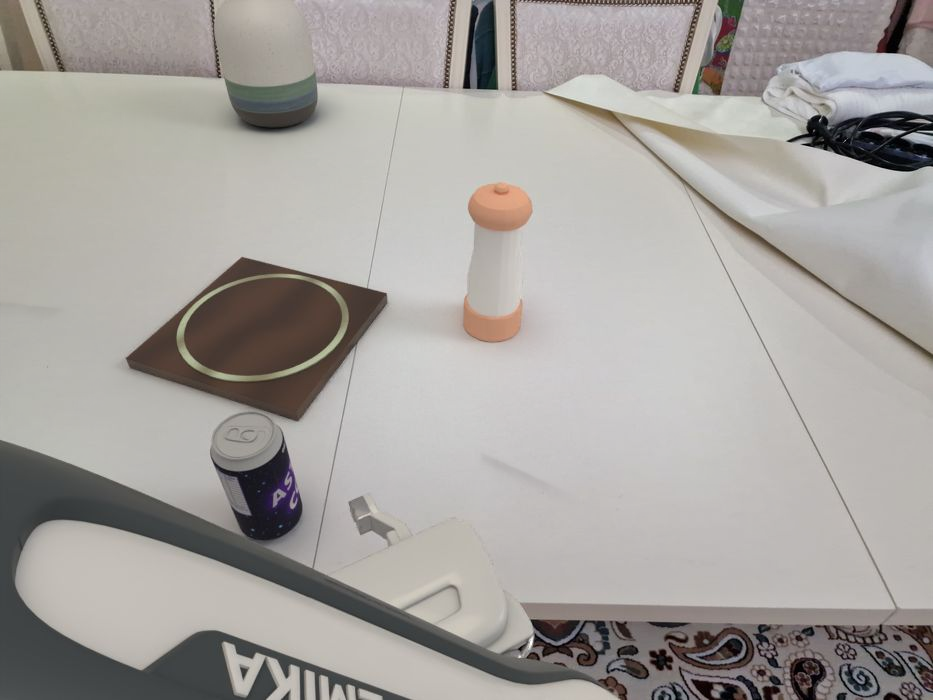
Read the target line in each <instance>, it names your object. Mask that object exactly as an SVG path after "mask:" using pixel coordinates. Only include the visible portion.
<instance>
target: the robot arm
mask: <svg viewBox="0 0 933 700" xmlns="http://www.w3.org/2000/svg"><path fill="white" fill-rule="evenodd" d="M348 507H349V512H350V516H351V518H352V520H353V523H355V525H356V529H357V531H358V533H359V535H360V536H362V535H365V534H367V533H369V532H374V534H376V535H378V536H380V537H381V538H383V539H384V540H385V541H386V543H387V547H385V548H383V549H380V550H378V551H376V552H374V553H371V554H369V555H367V556H365V557H362V558H361V559H359V560H356V561H354V562H352V563H350V564H347V565H345V566H344V567H341V568H339V569H337V570H335V571H333V572H330V573H328V574H325V573H323V572H321V571H318V570H317V569H314V568H313V567H309V566H308V565H305V564H303V563H301V562H299V561H298V560H294V559H293V558H290V557H288V556H286V555H284V554H282V553H281V552H280V553H279V552H278V551H275V550H273V549H270V548H269V547H266V546H264V545H263V544H260V543H257V542H255V541H253V540H251V539H250V538H247V537H245V536H242V535H240V534H238V533H235V532H233V531H231V530H229V529H226V528H225V527H222V526H220V525H218V524H215V523H213V522H210V521H209V520H207V519H204V518H202V517H200V516H197V515H195V514H193V513H191V512H188V511H185V510H183V509H181V508H178V507H177V506H175V505H172V504H169V503H167V502H165V501H163V500H160V499H158V498H155V497H153V496H151V495H149V494H147V493H145V492H142V491H139V490H137V489H135V488H132V487H130V486H127V485H125V484H122V483H120V482H117V481H115V480H112V479H111V478H108V477H105V476H103V475H100V474H98V473H95V472H93V471H90V470H87V469H85V468H82V467H80V466H78V465H75V464H73V463H71V462H67V461H64V460H61V459H58V458H56V457H54V456H50V455H48V454H45V453H42V452H39V451H37V450H33V449H30V448H28V447H24V446H21V445H18V444H15V443H13V442H9V441H5V440H2V439H0V700H621V698H619V697H618V696H617V695H616V694H615V693H613V692H612V691H611V690H610V689H609V688H608V687H607V686H605V685H604V684H603V683H601V681H599V680H598V679H596V678H595V677H593V676H590V675H589V674H587V673H584V672H583V671H582V672H581V671H580V670H577V669H574V668H571V667H567V666H564V665H561V664H558V663H554V662H553V663H552V662H549V661H543V660H537V659H533V658H527V657H528V656H529V654H531V652H532V649H533V647H534V644H535V630H534V625H533V623H532V621H531V619H530V617H529V615H528V614H527V612H526V611H525V609H524V607H523V606H522V604H521V603H520V601H519V600H518V598H516V596H515V595H513V594H512V593H511V592H509V591H507V590H505V589H503V586H502V583H501V580H500V578H499V575H498V572H497V570H496V568H495V565H494V563H493V561H492V558H491V556H490V554H489V552H488V550H487V548H486V546H485V544H484V542H483V540H482V538H481V536H480V534H479V533H478V531H477V529H476V527H475V526H474V525H473V524H472V523H470V522H468V521H466V520H464V519H461V518H458V517H456V516H455V517H450V518H447V519H445V520H442V521H440V522H439V523H436V524H434V525H432V526H430V527H428V528H426V529H424V530H422V531H419V532H417V533H414V534H412V532H411V530H410V528H409V527H408V525H407V523H406V522H404V521H402V520H400V519H398V518H396V517H394V516H393V515H391V514H389V513H387V512H385V511H383V510H379V508H378V506H377V504H376V502H375V500H374V498H373V496H372V494H371V493H370V492H368V493H365V494H364V495H361V496H358V497H356V498H354V499H352V500H350V501H348ZM522 646H523V648H522V649H521V650H519V648H520V647H522Z"/></svg>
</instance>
